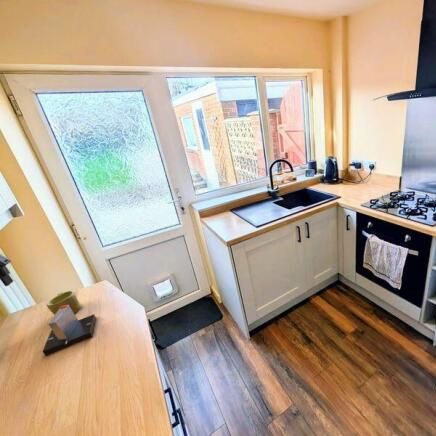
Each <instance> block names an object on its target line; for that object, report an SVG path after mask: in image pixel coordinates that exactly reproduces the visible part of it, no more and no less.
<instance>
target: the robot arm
mask: <svg viewBox="0 0 436 436" xmlns="http://www.w3.org/2000/svg"><path fill="white" fill-rule="evenodd" d="M11 262H12V261H11V259H10V258H8V257H6V256H4V255H3V254H1V253H0V281H1V283H2V284H3V285H4V287H9V286H10V285H11V284H12V283H13V282H14V280H13V278H12V276H11V275H10V274H11V271H10V270H9V269H8V267H7V266H8V264H10V263H11Z"/></svg>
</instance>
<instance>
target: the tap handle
mask: <svg viewBox="0 0 436 436" xmlns="http://www.w3.org/2000/svg"><path fill="white" fill-rule="evenodd" d="M78 320H79V319H78V317H77V316H76V315H75V313H73V311H72V310H71V308H70V307H69V305H64V306H61V307H60V309H59V310H58V311H57V313H56V314H55V315H54V314H53V316H52V318H51V319H50V320H49V322H48V323H47V325H48V327H49V328H50V330H52V331H53V332H54V334H55V335H56V336H57V338H58V339H59V341H60V342H61V341H65V340H68V338H69V337H70V335H71V334H72V332H73V331H74V329H75V327H76V326H77V324H78V323H79V321H78Z"/></svg>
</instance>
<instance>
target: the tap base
mask: <svg viewBox="0 0 436 436" xmlns="http://www.w3.org/2000/svg"><path fill="white" fill-rule="evenodd" d="M97 319H98V318H97V316H96V315H95V314H91V315H88V316H86V317H83V318H81V319H78V321H79V323H78V324H77V326H76V327H75V329H74V331H73V332H72V334H71V335H70V337H69V338H68V340H65V341H61V342H60V341H59V339H58V338H57V336H56V335H55V334H54V332H53V331H52V329H50V332H49V334H48V337H47V339H46V342H45V343H44V347H43V349H42V353H43V354H44V356H45V357H48V356H50V355H53V354H55V353H58V352H60V351H62V350H65V349H67V348H69V347H72V346H74V345H77V344H79V343H82V342H84V341H86V340H89V339H91V338H92V339H93V337H94V332H95V329H96V323H97Z"/></svg>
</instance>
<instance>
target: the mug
mask: <svg viewBox="0 0 436 436" xmlns="http://www.w3.org/2000/svg"><path fill="white" fill-rule="evenodd" d="M64 305H69V307H70V308H71V310H72V311H73V313H74V314H75V313H76V312H78V311H79V310H81V308H82V304H81V302H80V301H79V299H78V296H77V295H76V293H75V292H74V291H73V290H67V291H64V292H59V293H57V295H55V296H54V297H52V298H51V299H49V301H48V302H47V303H46V307H47V309H48V310H49V311H50V313H52V314H53V316H54V315H55V314H56V313H57V311H58V310H59V309H60V307H61V306H64Z"/></svg>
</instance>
